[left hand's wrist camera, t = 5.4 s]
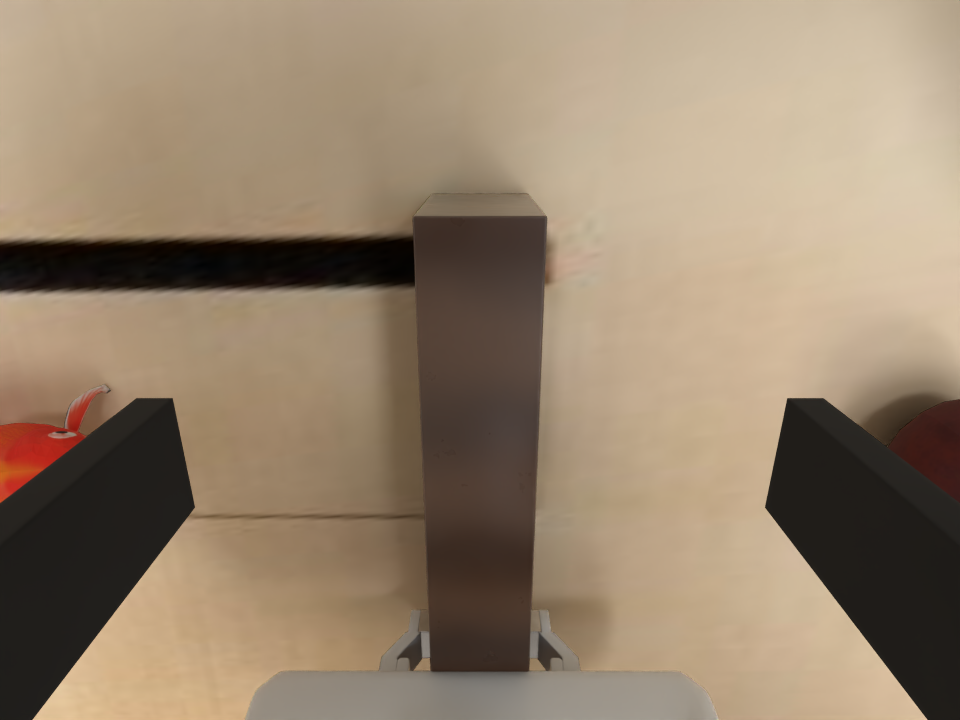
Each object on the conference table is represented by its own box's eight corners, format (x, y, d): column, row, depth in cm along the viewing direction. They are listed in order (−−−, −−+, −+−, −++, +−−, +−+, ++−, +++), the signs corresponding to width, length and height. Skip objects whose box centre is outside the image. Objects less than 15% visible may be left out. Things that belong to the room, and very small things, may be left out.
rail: (431, 193, 27) (412, 215, 20) (528, 193, 27) (547, 216, 20) (443, 629, 36) (434, 757, 29) (516, 629, 36) (525, 757, 29)
